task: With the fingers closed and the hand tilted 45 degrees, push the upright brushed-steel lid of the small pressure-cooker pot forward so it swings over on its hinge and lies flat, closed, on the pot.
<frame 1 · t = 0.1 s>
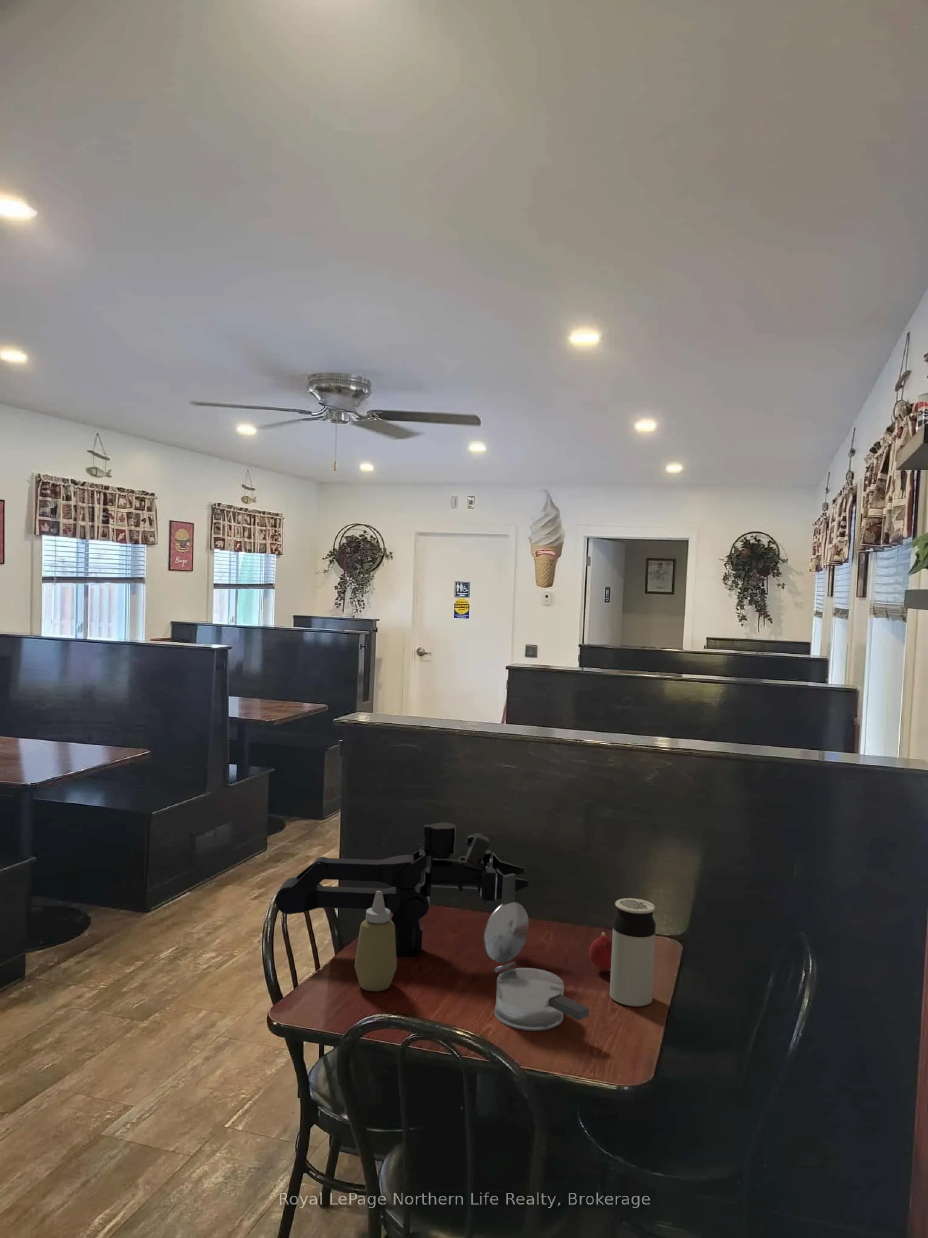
hand: (526, 876, 182), 17 cm above the table, tool horizontal, fingers open, 9 cm apart
pot: (528, 1014, 154), on the table
lid: (507, 922, 159), point 15 cm above the table, hinge at 90.0°
onion: (602, 973, 174), on the table
travel mug: (630, 999, 162), on the table
squeeze bottle: (374, 987, 163), on the table
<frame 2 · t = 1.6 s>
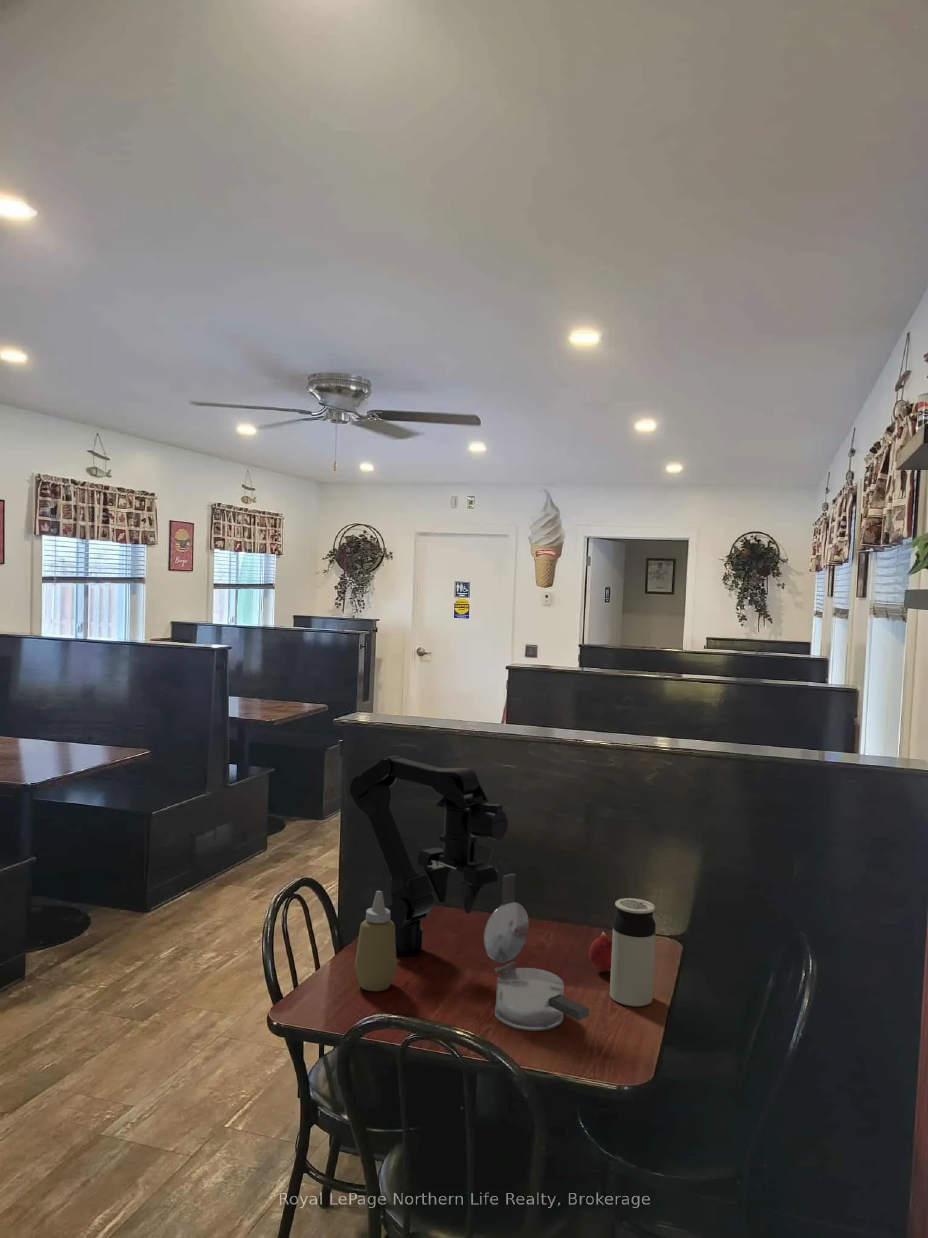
hand: (455, 907, 173), 12 cm above the table, tool pointing down, fingers open, 8 cm apart
nothing on the table moved.
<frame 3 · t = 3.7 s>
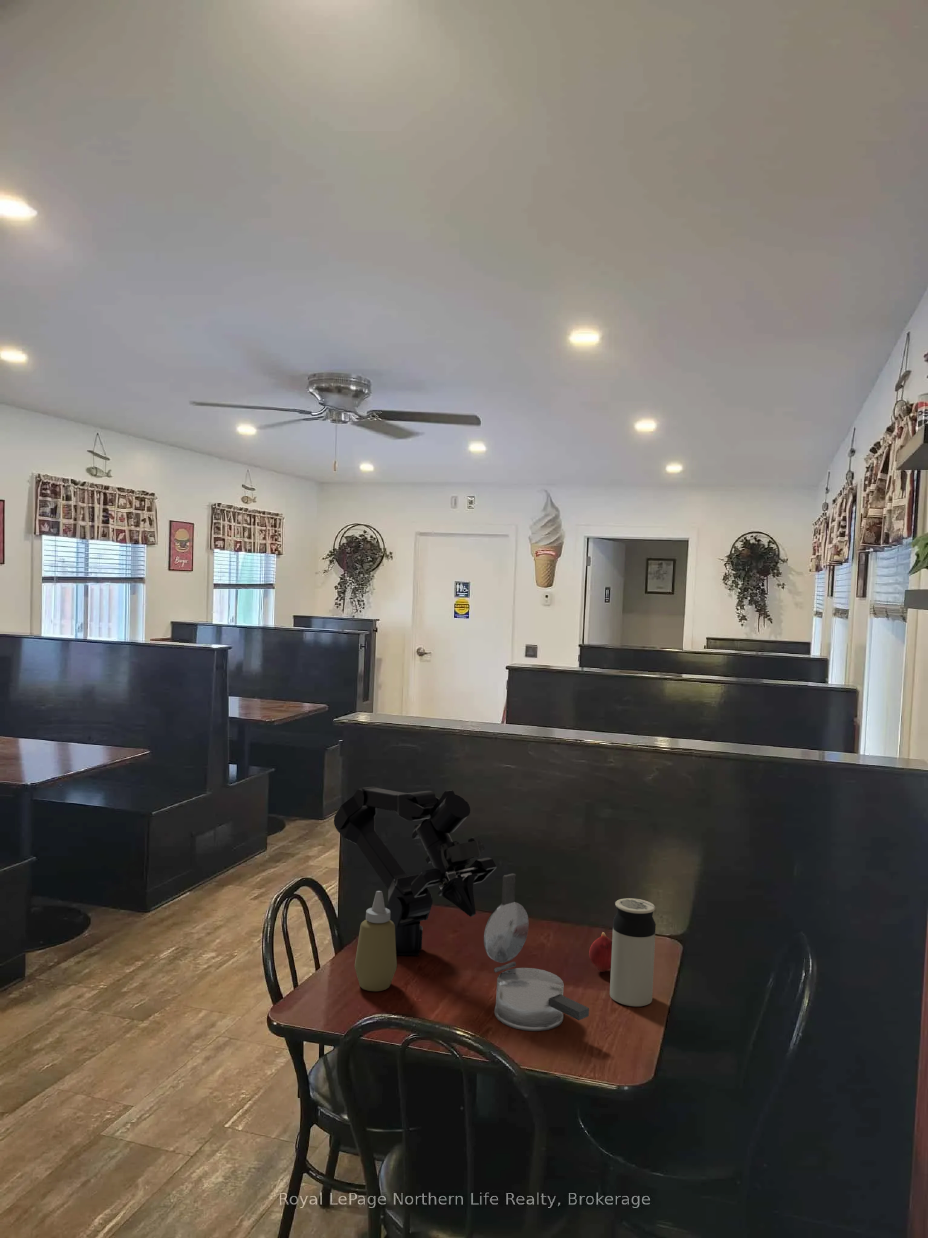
hand: (473, 915, 165), 13 cm above the table, tool tilted 45°, fingers closed
nothing on the table moved.
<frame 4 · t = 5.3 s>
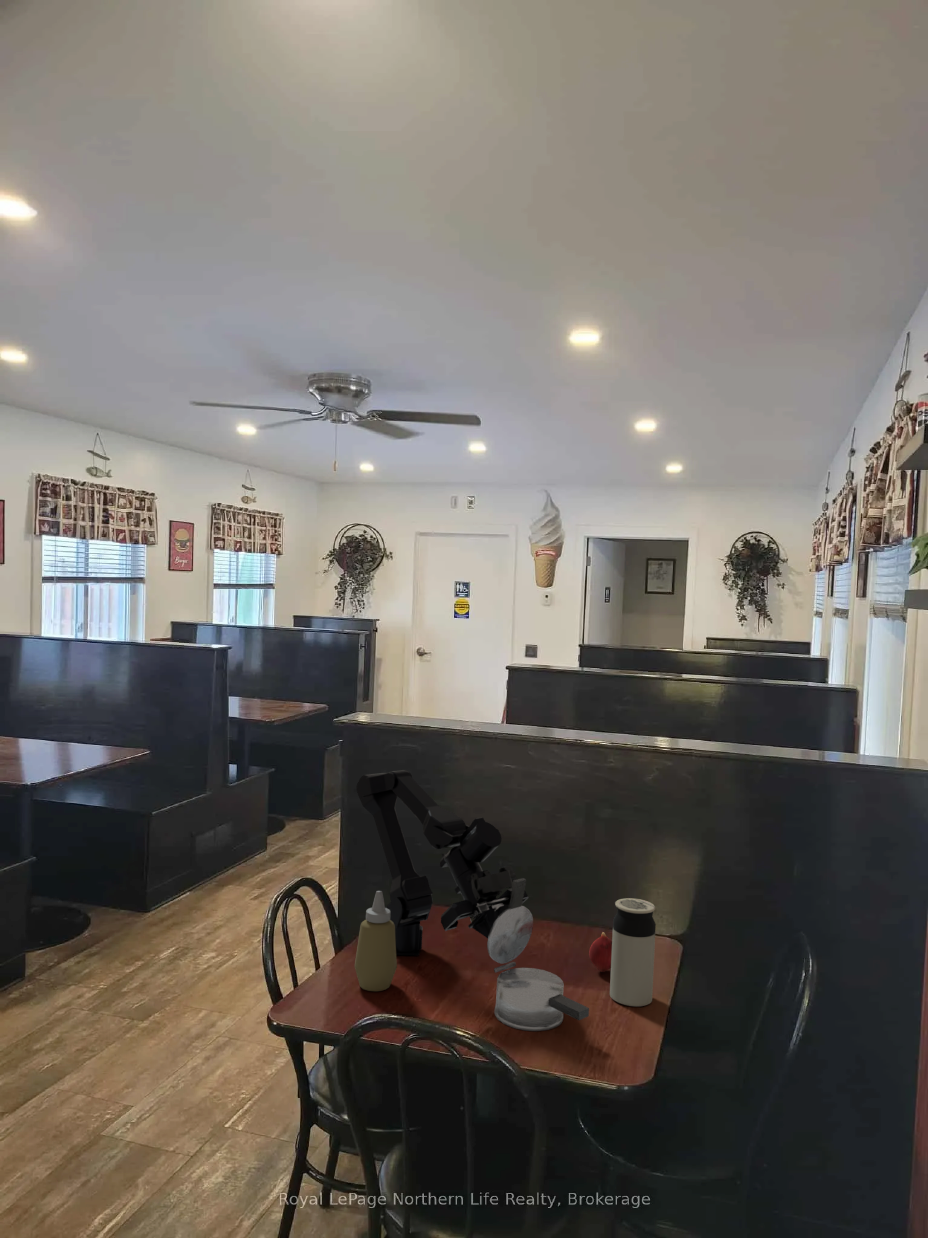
hand: (505, 949, 159), 10 cm above the table, tool tilted 45°, fingers closed, pressing on lid
lid: (512, 925, 158), point 15 cm above the table, hinge at 80.6°, touching gripper
everything else where it was.
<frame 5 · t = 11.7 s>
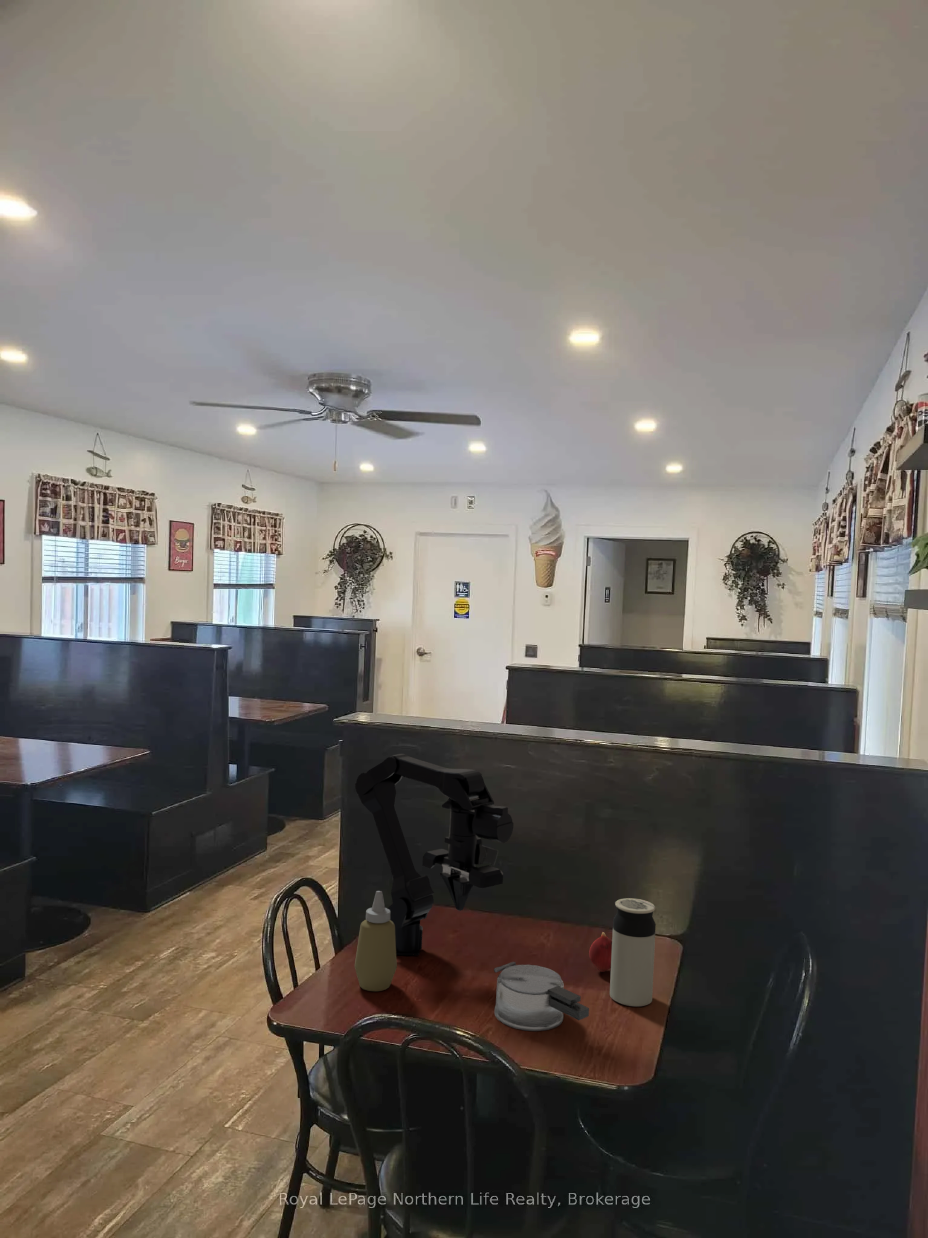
hand: (459, 910, 172), 12 cm above the table, tool pointing down, fingers closed
lid: (538, 983, 152), point 6 cm above the table, hinge at 0.0°, touching pot
everything else where it was.
at the end: lid at +0° (first picture: +90°) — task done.
